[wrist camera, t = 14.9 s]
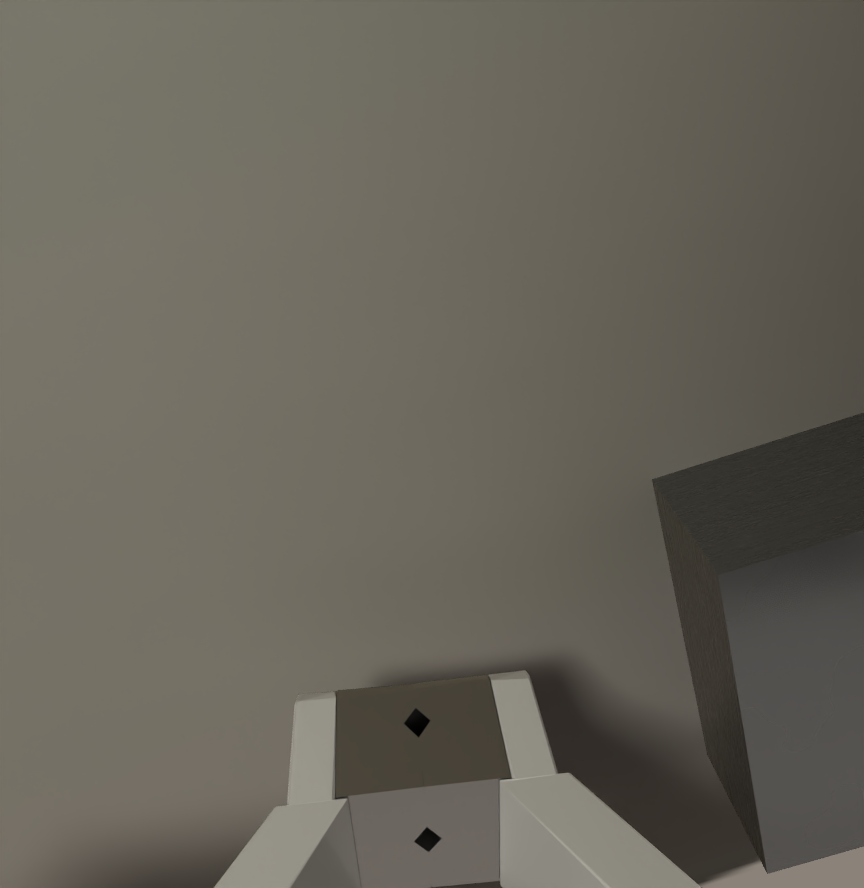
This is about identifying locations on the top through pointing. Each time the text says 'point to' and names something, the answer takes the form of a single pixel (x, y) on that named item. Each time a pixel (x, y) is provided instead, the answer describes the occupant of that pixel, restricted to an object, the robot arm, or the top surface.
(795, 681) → the steel block
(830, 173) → the top surface
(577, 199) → the top surface
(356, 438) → the top surface
